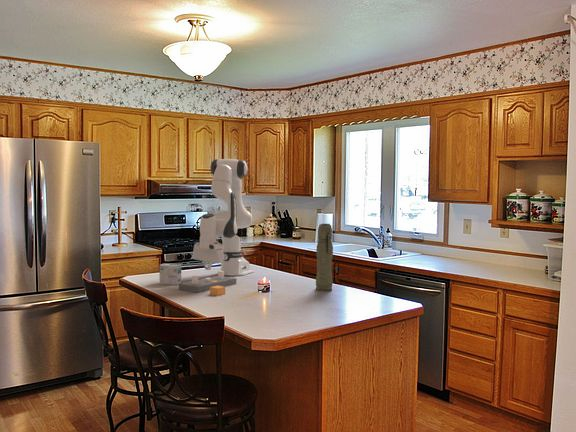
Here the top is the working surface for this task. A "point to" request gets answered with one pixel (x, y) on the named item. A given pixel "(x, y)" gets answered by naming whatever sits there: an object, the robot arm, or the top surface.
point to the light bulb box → (170, 274)
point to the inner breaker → (220, 274)
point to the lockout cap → (217, 290)
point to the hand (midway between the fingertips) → (207, 269)
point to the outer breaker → (194, 279)
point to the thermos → (324, 258)
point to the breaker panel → (206, 284)
